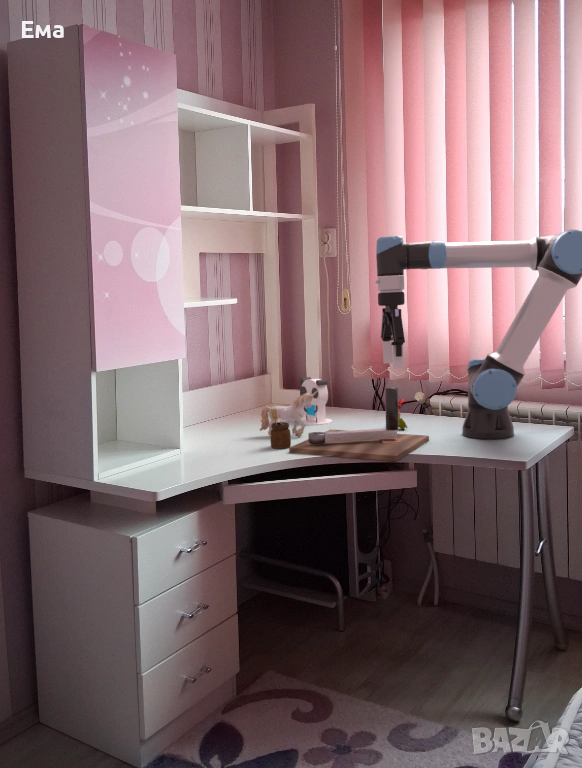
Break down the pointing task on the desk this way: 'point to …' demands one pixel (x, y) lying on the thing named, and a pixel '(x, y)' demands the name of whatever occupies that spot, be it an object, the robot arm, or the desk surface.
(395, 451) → the walnut board
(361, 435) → the lever
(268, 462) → the desk surface
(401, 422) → the bird rattle
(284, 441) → the utensil holder
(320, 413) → the panda figurine
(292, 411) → the unicorn figurine
